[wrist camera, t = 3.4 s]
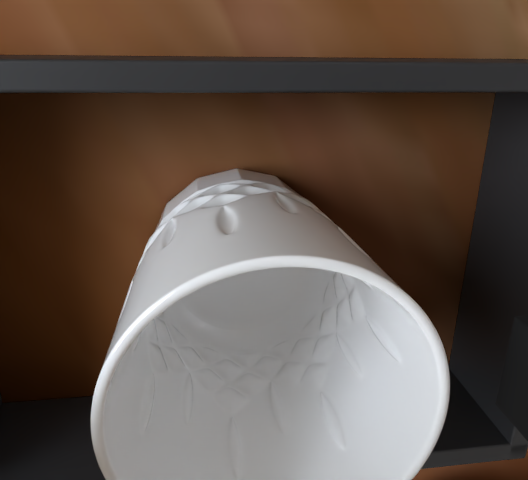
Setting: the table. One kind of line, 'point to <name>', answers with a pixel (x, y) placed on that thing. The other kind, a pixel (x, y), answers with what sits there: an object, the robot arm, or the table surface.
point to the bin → (326, 81)
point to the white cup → (265, 349)
